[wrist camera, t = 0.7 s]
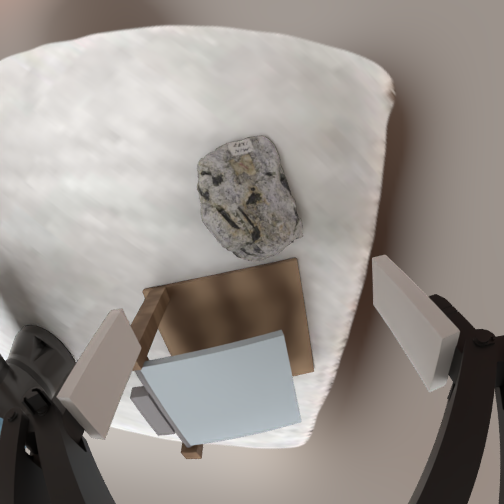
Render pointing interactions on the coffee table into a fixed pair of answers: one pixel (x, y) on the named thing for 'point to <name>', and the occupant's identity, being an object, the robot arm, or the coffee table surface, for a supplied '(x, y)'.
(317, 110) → the coffee table surface
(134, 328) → the frame
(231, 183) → the rock
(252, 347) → the trapdoor
